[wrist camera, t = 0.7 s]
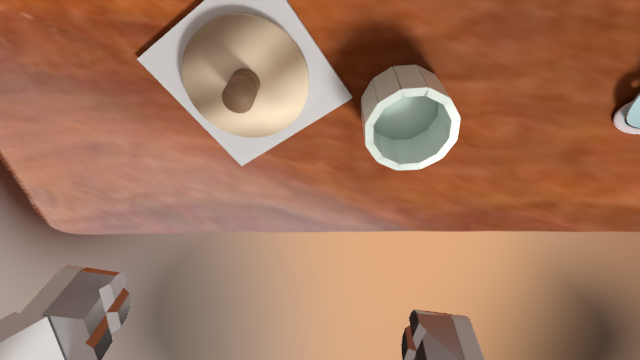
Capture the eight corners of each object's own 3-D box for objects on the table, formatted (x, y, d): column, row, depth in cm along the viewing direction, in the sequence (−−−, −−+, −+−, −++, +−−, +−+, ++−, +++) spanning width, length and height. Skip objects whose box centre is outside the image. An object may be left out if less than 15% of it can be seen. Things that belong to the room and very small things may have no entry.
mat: (139, 57, 38) (136, 59, 38) (256, -45, 32) (255, -45, 32) (242, 163, 46) (241, 166, 45) (352, 96, 40) (352, 98, 40)
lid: (158, 62, 38) (137, 81, 34) (253, -18, 33) (243, -8, 29) (242, 151, 44) (233, 176, 40) (333, 94, 39) (333, 115, 35)
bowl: (345, 95, 40) (347, 120, 35) (421, 47, 37) (435, 68, 32) (385, 153, 44) (392, 183, 39) (456, 115, 41) (473, 143, 36)
